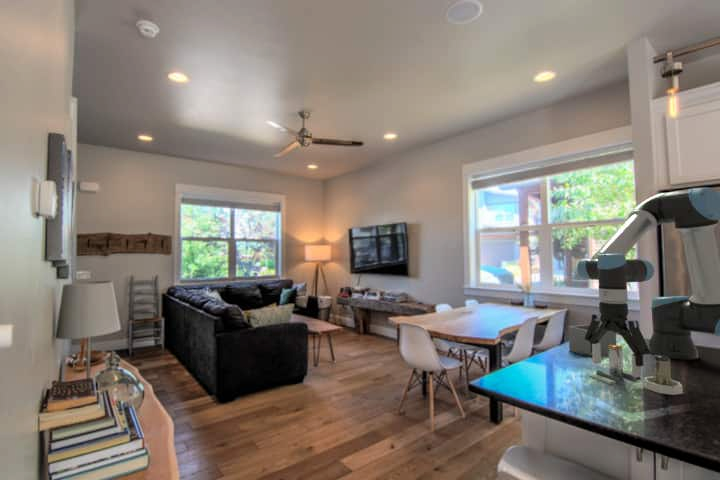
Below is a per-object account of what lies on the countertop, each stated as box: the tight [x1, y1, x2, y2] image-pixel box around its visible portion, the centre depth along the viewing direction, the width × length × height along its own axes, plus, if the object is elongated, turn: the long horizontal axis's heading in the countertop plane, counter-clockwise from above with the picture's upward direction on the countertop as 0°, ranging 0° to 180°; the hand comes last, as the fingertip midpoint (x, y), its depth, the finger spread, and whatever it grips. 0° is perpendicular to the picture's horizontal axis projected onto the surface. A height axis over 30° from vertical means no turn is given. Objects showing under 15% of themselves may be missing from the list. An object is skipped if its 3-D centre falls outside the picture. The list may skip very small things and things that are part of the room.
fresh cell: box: [608, 344, 624, 380], centre depth 115 cm, size 4×4×10 cm
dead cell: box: [653, 354, 672, 386], centre depth 106 cm, size 4×4×10 cm
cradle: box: [585, 370, 644, 387], centre depth 115 cm, size 14×10×3 cm
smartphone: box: [574, 351, 593, 358], centre depth 149 cm, size 8×15×1 cm, turn 129°
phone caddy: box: [568, 324, 617, 357], centre depth 149 cm, size 12×12×10 cm
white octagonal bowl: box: [643, 375, 684, 396], centre depth 105 cm, size 8×8×4 cm
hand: (615, 369), depth 115 cm, fingers open, 13 cm apart
